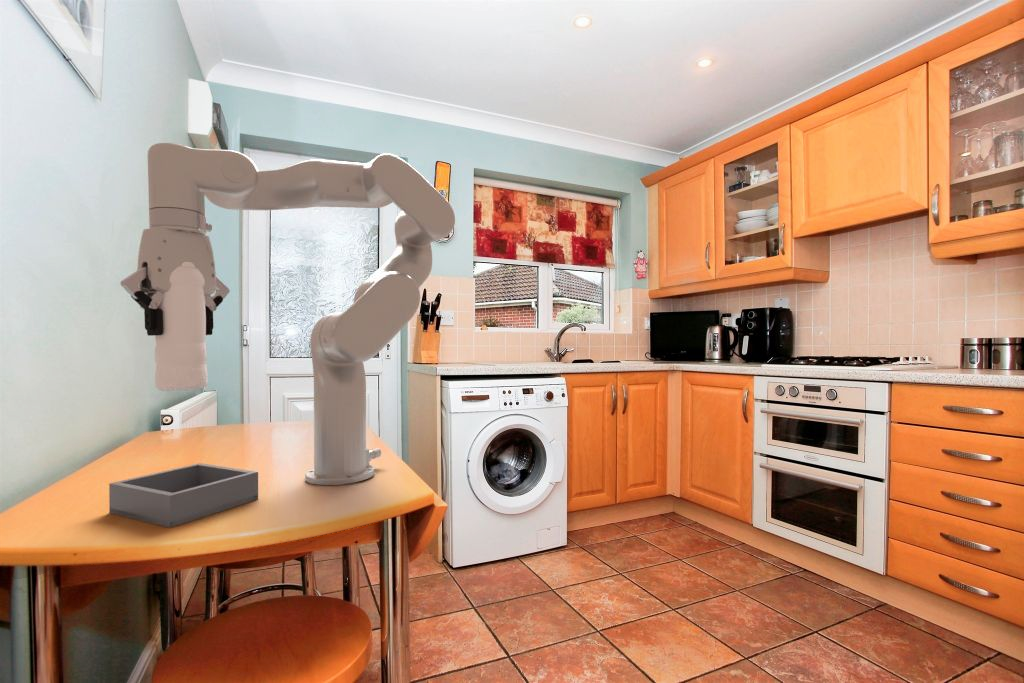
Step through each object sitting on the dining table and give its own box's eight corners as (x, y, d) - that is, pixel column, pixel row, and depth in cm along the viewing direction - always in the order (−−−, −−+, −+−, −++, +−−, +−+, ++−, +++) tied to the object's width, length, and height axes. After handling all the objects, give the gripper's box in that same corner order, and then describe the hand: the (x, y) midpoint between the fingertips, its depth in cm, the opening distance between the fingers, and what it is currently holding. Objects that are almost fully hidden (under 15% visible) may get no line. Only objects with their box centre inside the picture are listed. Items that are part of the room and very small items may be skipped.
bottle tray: (200, 488, 89) (199, 463, 89) (258, 499, 83) (258, 472, 83) (109, 512, 76) (109, 483, 76) (169, 527, 70) (169, 495, 70)
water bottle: (216, 387, 82) (212, 234, 82) (168, 391, 76) (163, 227, 76) (194, 385, 86) (190, 239, 85) (147, 390, 80) (143, 233, 79)
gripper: (216, 236, 90) (218, 335, 90) (102, 216, 74) (105, 336, 75) (243, 231, 87) (245, 334, 87) (129, 210, 71) (133, 335, 71)
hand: (180, 334), depth 81 cm, fingers closed on water bottle, 7 cm apart
